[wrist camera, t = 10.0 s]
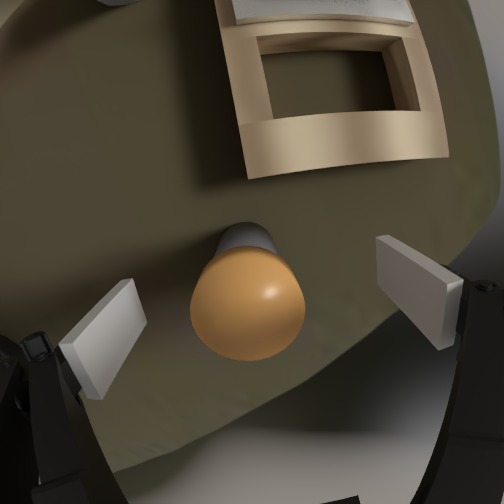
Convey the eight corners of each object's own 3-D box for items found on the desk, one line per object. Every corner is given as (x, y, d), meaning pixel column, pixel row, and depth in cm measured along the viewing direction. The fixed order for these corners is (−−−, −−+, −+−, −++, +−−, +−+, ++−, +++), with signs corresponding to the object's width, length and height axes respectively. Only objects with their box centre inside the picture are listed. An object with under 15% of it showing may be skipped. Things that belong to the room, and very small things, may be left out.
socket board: (247, 177, 20) (248, 179, 16) (206, -41, 14) (201, -64, 11) (423, 156, 19) (449, 157, 16) (363, -43, 14) (376, -62, 11)
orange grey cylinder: (220, 284, 22) (204, 366, 12) (208, 223, 21) (178, 268, 11) (282, 274, 22) (308, 351, 12) (273, 212, 21) (299, 249, 11)
